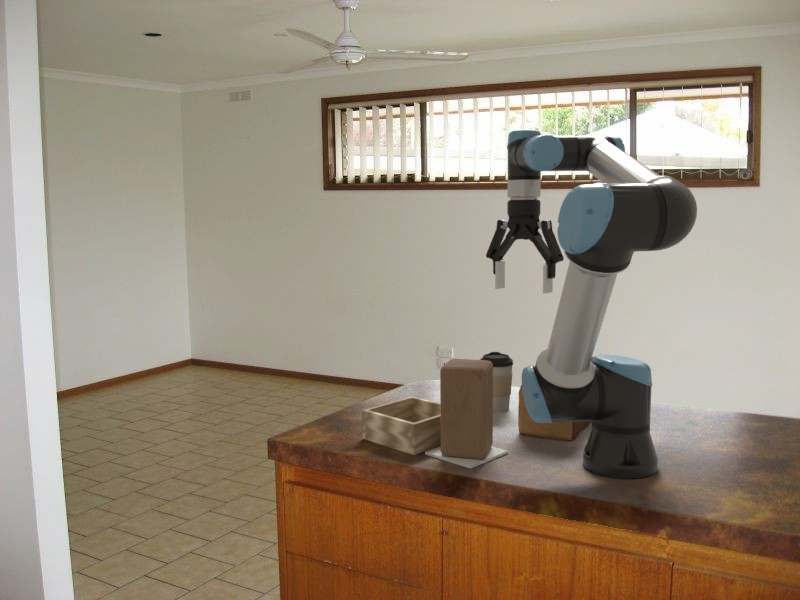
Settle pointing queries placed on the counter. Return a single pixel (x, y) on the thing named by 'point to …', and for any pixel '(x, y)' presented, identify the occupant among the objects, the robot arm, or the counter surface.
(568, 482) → the counter surface
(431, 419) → the birch frame
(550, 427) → the bread
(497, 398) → the coffee cup
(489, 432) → the wooden block
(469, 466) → the grey mat
